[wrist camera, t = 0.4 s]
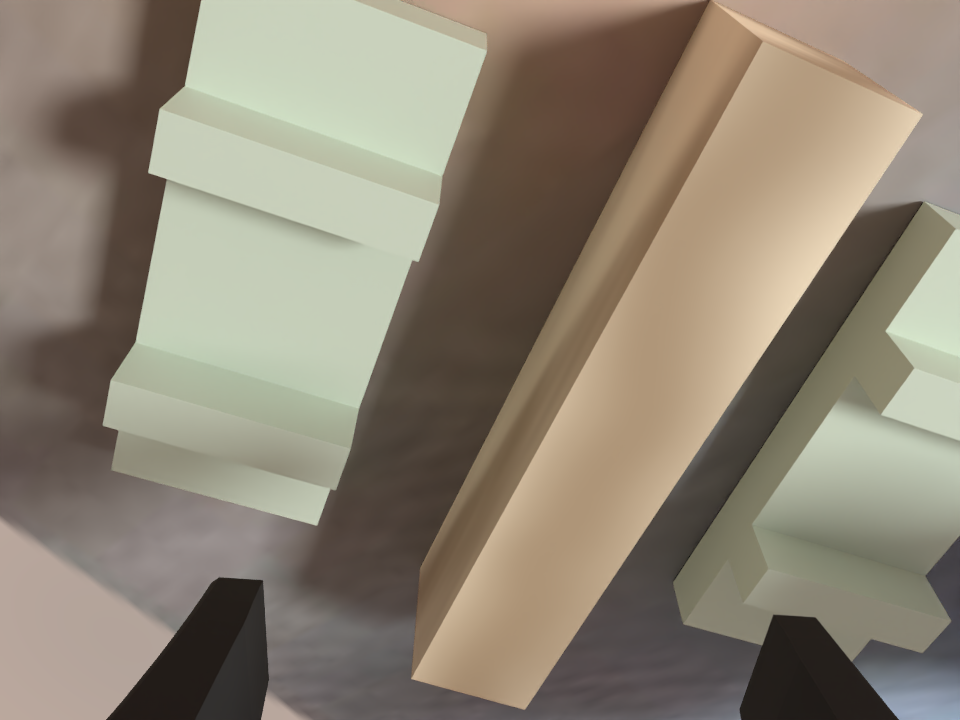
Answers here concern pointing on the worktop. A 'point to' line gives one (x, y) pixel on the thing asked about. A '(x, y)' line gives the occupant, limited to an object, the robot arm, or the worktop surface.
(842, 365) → the stand
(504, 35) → the worktop surface
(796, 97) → the bar
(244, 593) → the robot arm
